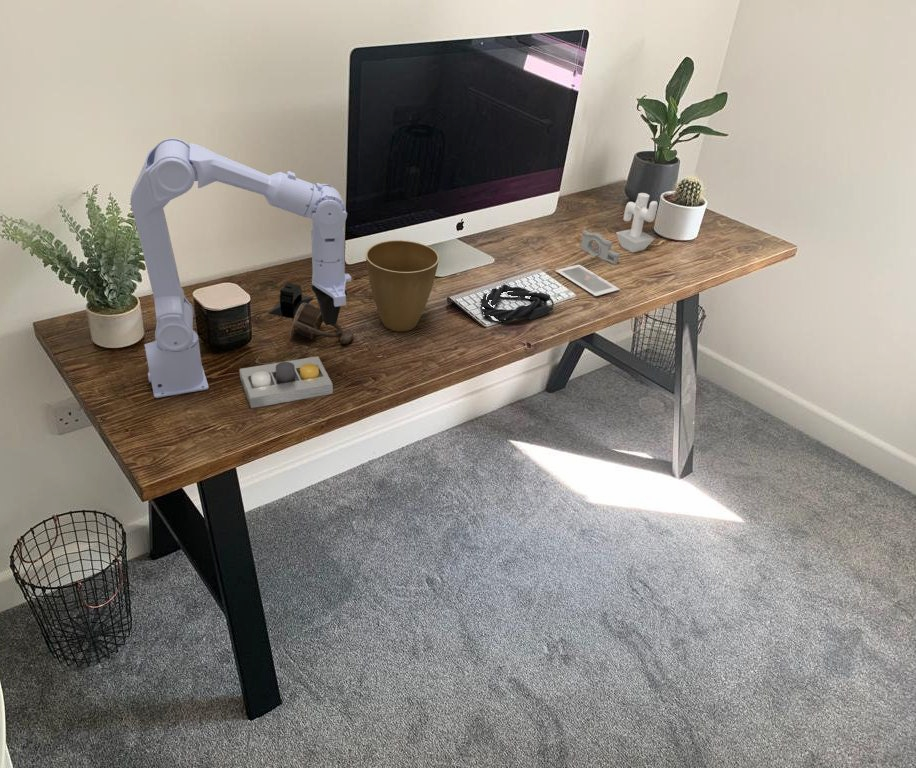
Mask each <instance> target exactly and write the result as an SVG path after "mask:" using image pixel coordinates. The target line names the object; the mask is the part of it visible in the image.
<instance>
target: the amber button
mask: <svg viewBox="0 0 916 768" xmlns="http://www.w3.org/2000/svg"><path fill="white" fill-rule="evenodd" d="M317 377H319V367H318V366H317V365H315V364H311V363H309V364H304V365H302V366H301V367H300V379H301V380H305V379H311V378H317Z"/></svg>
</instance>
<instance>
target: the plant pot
mask: <svg viewBox="0 0 916 768" xmlns="http://www.w3.org/2000/svg"><path fill="white" fill-rule="evenodd" d="M365 260H366V261H365V262H366V268H367V273H368V278H369V285H370V288H371V293H372V296H373V299H374V303H375V306H376V310H377V313H378V315H379V317H380V320H381V323H382V325H383V326H384V327H385V328H386V329H388V330H392V331H393V332H394V331H396V332H407V331H410V330H413V329H414V328H415V327H417V325H418V324H419V321H420V319H421V317H422V315H423V313H424V310H425V308H426V305H427V303H428V301H429V298H430V295H431V293H432V289H433V285H434V281H435V278H436V274H437V270H438V264H439V261H440V256H439V254H438V252H437V251H436V250H435V249H434V248H432V247H431V246H429V245H426V244H423V243H420V242H417V241H410V240H403V239H400V240H399V239H395V240H385V241H381V242H378V243H375V244H373V245H371V246H370V247H369V248H367V250H366V251H365Z"/></svg>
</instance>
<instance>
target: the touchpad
mask: <svg viewBox="0 0 916 768" xmlns="http://www.w3.org/2000/svg"><path fill="white" fill-rule="evenodd" d="M555 272H556V273H559V274H560V275H561V276H563V277H565V278H567V280H569V281H570V282H573V283H574V284H576V285H577V286H579V287H580V288H582V289H583V290H584V291H587V292H589V293H590V294H591V295H593V296H594V297H598V296H601V295H605V294H608V293H609V294H610V293H613V292H616V291H620V290H621V289H620V288H619V287H617V286H615V284H613V283H611V282H609V281H607V280H606V279H604V278H602V277H601V276H599V275H597V274H596V273H594V272H592V271H590V270H589V269H587V268H585V267H584V266H583V265H581V264H575V265H570V266H568V267H564V268H559V269H555Z"/></svg>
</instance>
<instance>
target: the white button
mask: <svg viewBox="0 0 916 768" xmlns="http://www.w3.org/2000/svg"><path fill="white" fill-rule="evenodd" d="M251 379H252V386H251V387H252V389H253V388H259V387H265V386H270V385H272V384H271V377H270V374H269V373H268V372H264V371H260V372H256V373H254V374H253V375H252V376H251Z"/></svg>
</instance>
